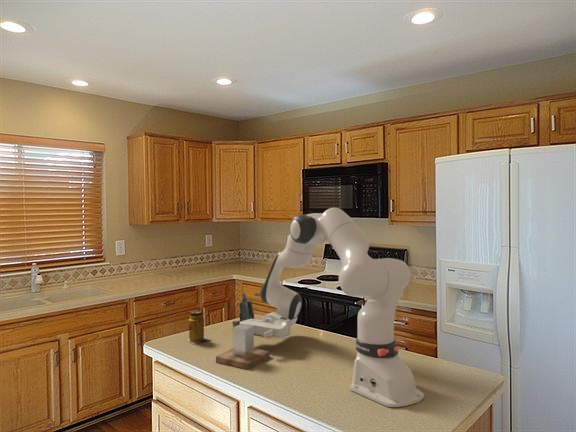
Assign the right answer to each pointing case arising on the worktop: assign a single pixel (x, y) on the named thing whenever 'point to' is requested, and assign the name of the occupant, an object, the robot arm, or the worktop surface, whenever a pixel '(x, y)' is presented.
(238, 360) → the wooden base with peg
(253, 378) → the worktop surface
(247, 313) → the gun
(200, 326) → the condiment
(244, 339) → the tall wooden block
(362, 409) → the worktop surface
